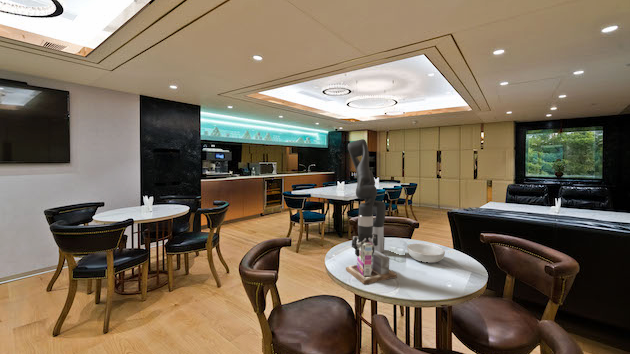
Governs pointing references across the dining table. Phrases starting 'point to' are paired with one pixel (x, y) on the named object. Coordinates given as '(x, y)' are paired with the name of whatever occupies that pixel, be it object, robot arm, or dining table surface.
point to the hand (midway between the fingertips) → (364, 254)
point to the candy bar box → (365, 259)
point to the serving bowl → (425, 252)
